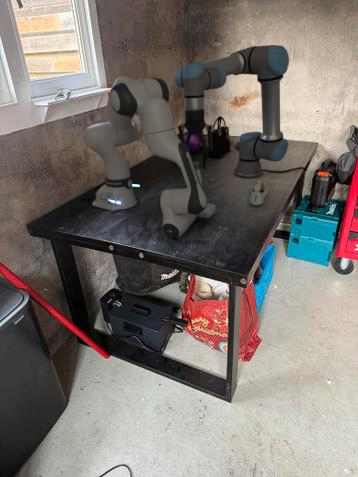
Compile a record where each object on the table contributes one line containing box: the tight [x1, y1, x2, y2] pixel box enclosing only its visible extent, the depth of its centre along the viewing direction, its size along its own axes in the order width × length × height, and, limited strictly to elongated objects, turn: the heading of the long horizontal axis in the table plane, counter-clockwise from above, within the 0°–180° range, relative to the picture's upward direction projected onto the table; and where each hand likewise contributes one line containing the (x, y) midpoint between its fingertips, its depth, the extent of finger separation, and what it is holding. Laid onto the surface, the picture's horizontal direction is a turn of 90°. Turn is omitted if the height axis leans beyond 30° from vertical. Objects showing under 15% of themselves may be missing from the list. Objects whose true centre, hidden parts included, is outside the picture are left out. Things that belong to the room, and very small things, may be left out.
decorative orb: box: [184, 130, 201, 154], centre depth 230 cm, size 15×15×15 cm
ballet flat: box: [249, 179, 269, 207], centre depth 158 cm, size 8×24×8 cm, turn 163°
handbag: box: [208, 115, 231, 159], centre depth 220 cm, size 21×9×25 cm, turn 148°
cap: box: [193, 160, 202, 170], centre depth 137 cm, size 4×4×2 cm
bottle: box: [196, 169, 203, 187], centre depth 143 cm, size 4×4×23 cm
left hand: (197, 200), depth 146 cm, fingers closed on bottle, 4 cm apart
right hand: (196, 167), depth 137 cm, fingers open, 6 cm apart
